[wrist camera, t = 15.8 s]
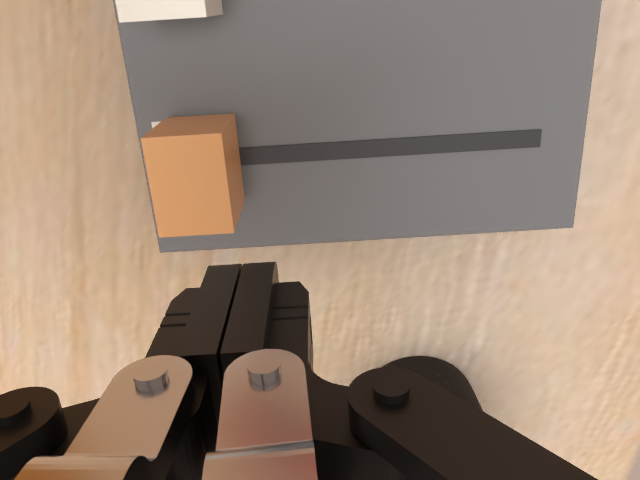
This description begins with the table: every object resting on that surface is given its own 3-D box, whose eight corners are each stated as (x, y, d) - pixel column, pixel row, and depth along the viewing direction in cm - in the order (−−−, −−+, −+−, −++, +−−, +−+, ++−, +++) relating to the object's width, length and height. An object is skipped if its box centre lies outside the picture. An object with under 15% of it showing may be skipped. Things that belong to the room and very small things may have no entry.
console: (108, -149, 23) (80, -169, 21) (589, -181, 23) (628, -206, 20) (174, 229, 30) (159, 253, 27) (548, 206, 30) (573, 228, 27)
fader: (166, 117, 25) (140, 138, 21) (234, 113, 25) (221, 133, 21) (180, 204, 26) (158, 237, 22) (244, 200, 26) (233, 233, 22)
